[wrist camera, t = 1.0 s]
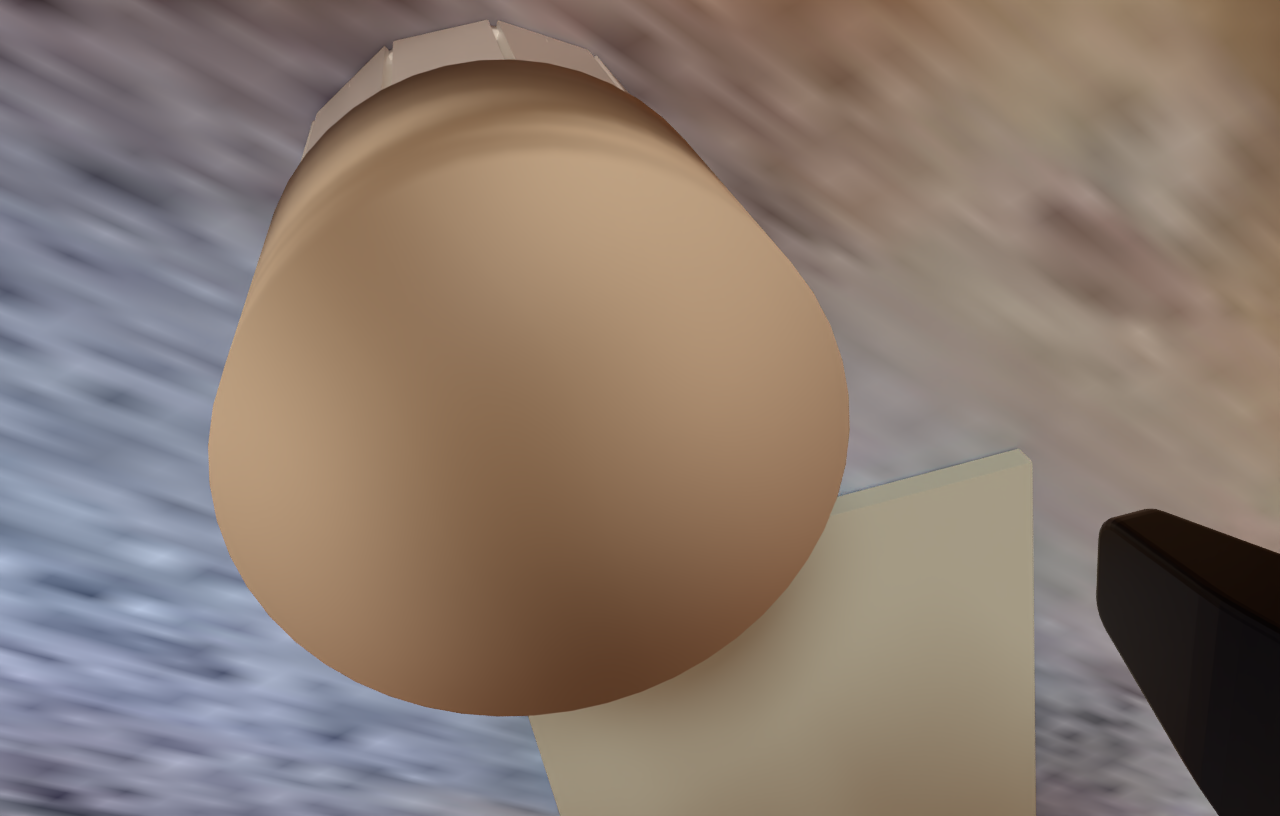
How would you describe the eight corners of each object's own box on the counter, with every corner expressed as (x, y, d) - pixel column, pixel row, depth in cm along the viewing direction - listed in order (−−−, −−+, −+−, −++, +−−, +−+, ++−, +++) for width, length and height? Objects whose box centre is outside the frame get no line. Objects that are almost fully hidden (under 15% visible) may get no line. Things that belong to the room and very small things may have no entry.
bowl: (633, -14, 19) (686, 25, 15) (695, 334, 22) (750, 432, 18) (242, 75, 18) (204, 137, 15) (364, 417, 21) (357, 534, 18)
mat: (1019, 448, 25) (1032, 462, 24) (1025, 813, 31) (1036, 830, 30) (490, 588, 24) (493, 606, 23) (601, 936, 30) (605, 956, 29)
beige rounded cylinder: (698, 7, 15) (816, 85, 11) (763, 439, 19) (873, 630, 14) (184, 125, 15) (92, 256, 10) (349, 547, 18) (333, 778, 14)
